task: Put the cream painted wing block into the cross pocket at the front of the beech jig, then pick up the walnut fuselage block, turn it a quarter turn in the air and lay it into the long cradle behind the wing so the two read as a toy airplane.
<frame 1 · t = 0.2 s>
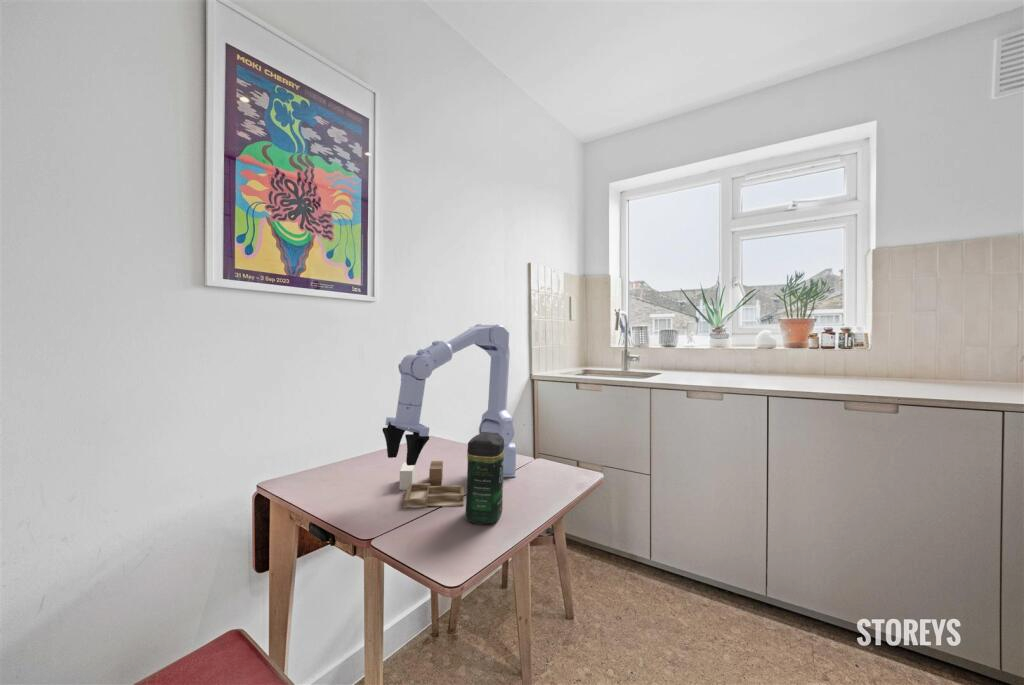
hand: (401, 461, 95), 10 cm above the table, tool pointing down, fingers open, 7 cm apart
jig: (435, 497, 99), on the table
coffee jar: (484, 516, 90), on the table
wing: (407, 484, 107), on the table
fuselage: (436, 481, 110), on the table
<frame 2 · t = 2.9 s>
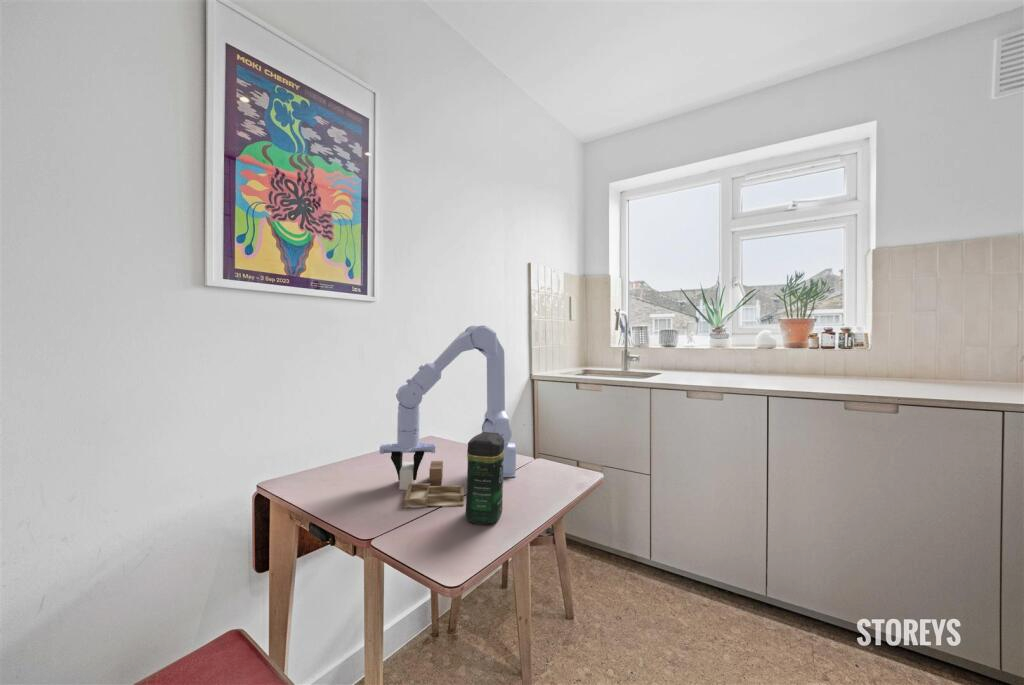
hand: (407, 479, 107), 1 cm above the table, tool pointing down, fingers closed on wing, 3 cm apart
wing: (407, 484, 107), on the table, touching gripper
everything else where it was.
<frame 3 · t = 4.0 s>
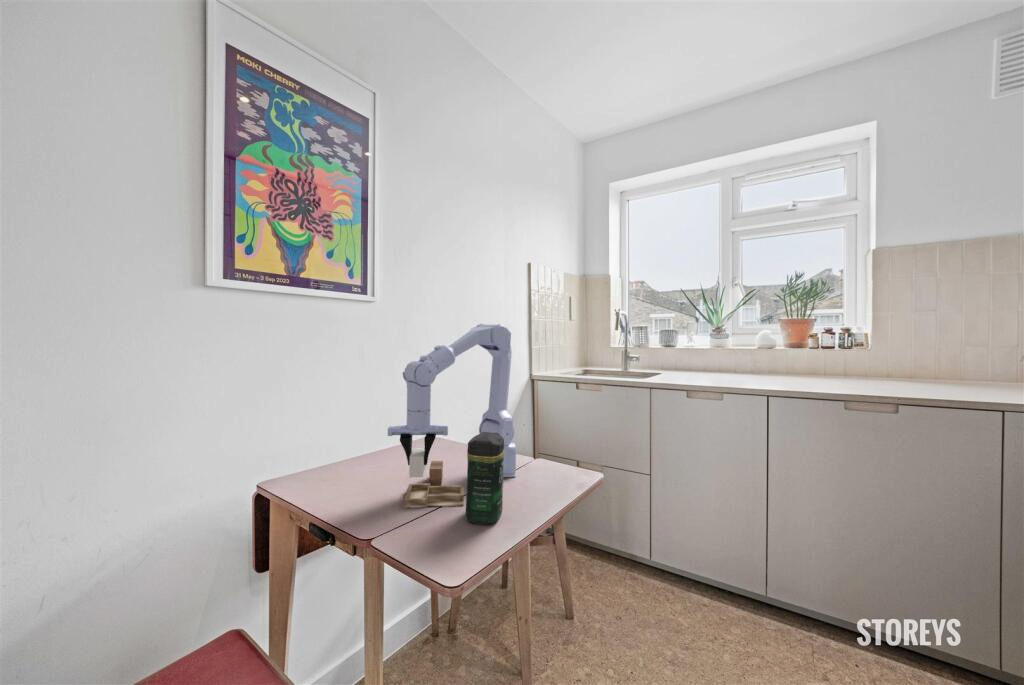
hand: (417, 463, 99), 8 cm above the table, tool pointing down, fingers closed on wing, 3 cm apart
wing: (417, 472, 99), point 6 cm above the table, touching gripper
everything else where it was.
when the fingers open (3 cm above the table, at t = 5.5 s): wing stays where it is, resting on jig.
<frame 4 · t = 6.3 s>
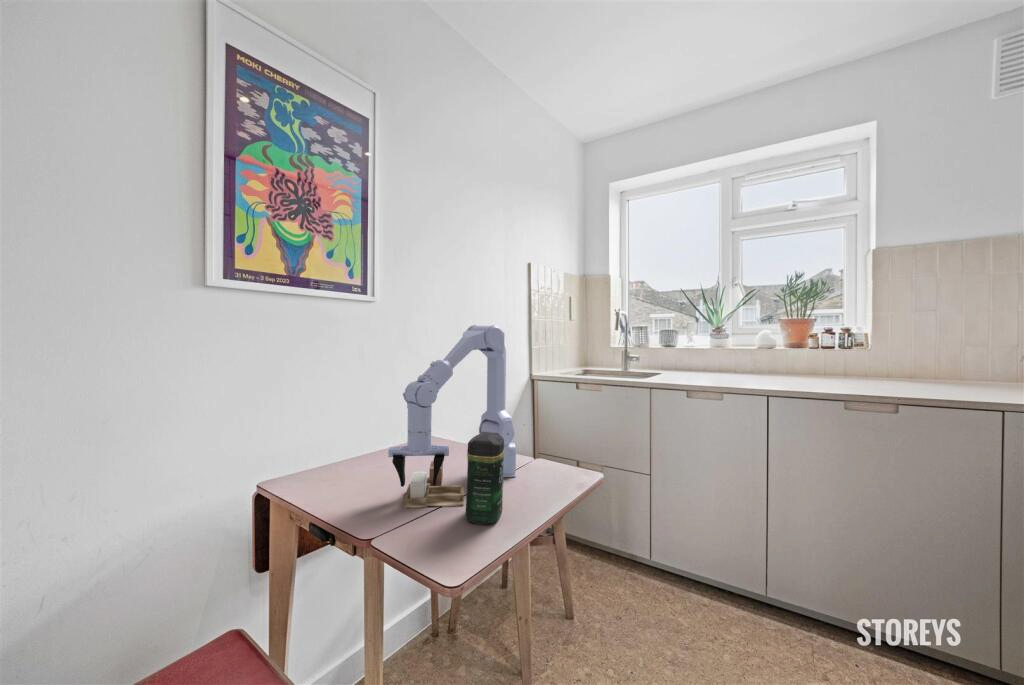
hand: (418, 484, 98), 3 cm above the table, tool pointing down, fingers open, 7 cm apart
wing: (418, 496, 99), resting on jig
everything else where it was.
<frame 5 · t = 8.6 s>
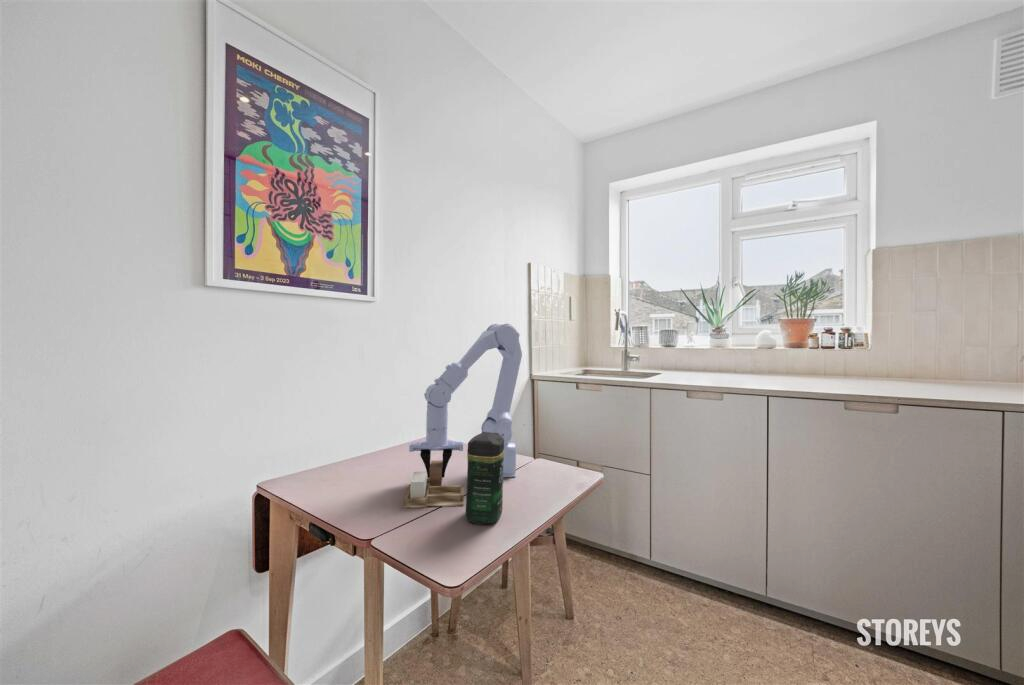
hand: (436, 476, 110), 1 cm above the table, tool pointing down, fingers closed on fuselage, 3 cm apart
fuselage: (436, 481, 110), on the table, touching gripper
everything else where it was.
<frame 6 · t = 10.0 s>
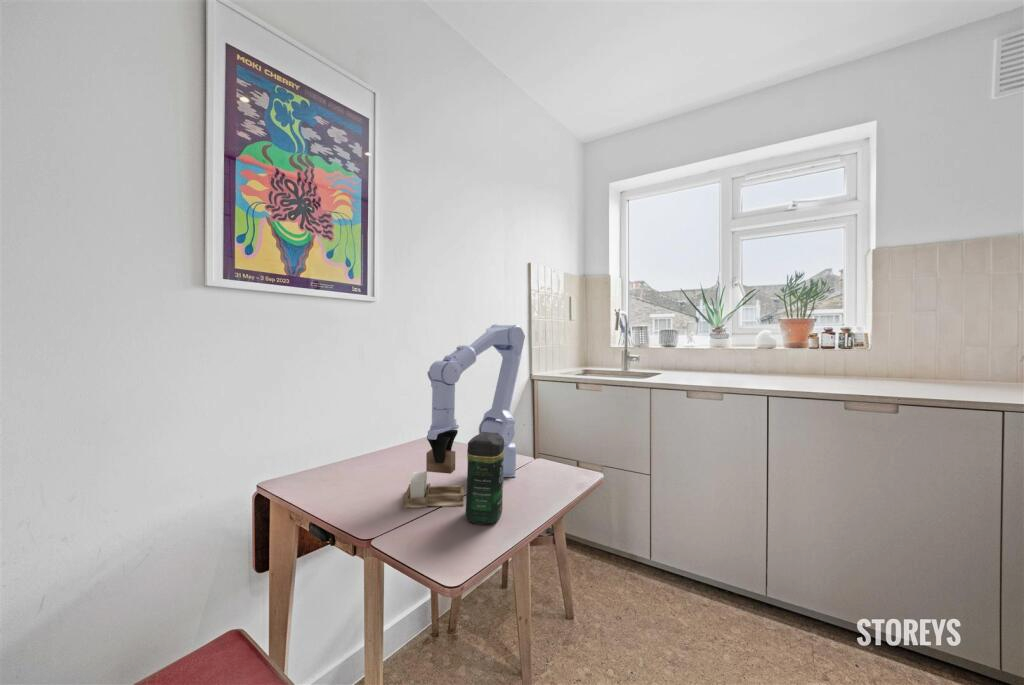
hand: (442, 460, 102), 8 cm above the table, tool pointing down, fingers closed on fuselage, 3 cm apart
fuselage: (440, 470, 102), point 6 cm above the table, touching gripper
everything else where it was.
when the fingers open (3 cm above the table, at t = 11.6 s): fuselage stays where it is, resting on jig.
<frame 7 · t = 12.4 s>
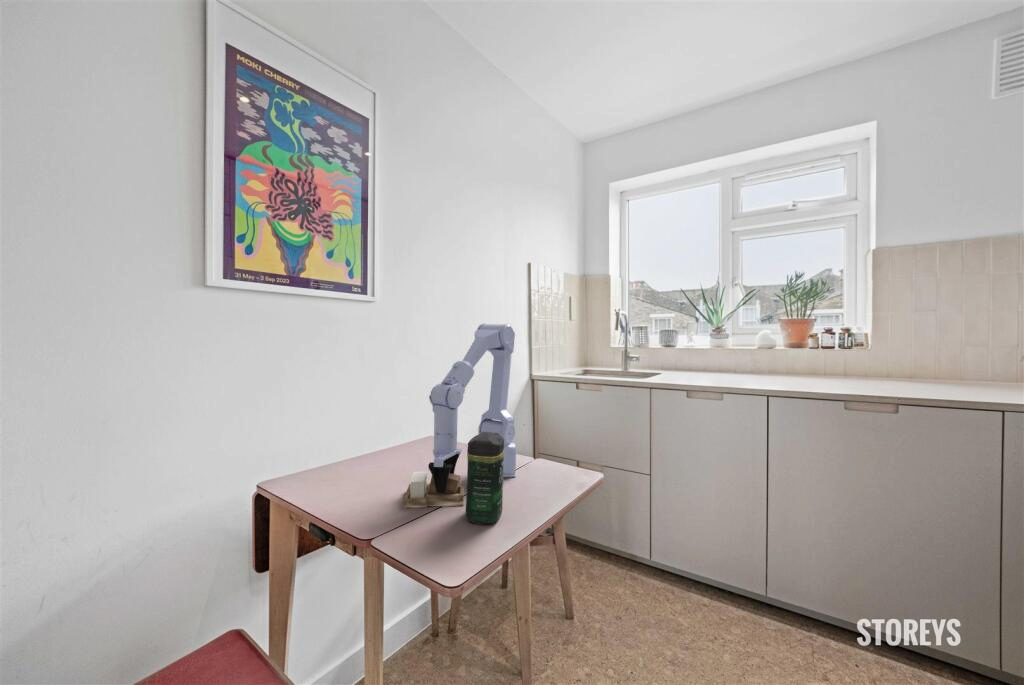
hand: (444, 486, 99), 3 cm above the table, tool pointing down, fingers open, 7 cm apart
fuselage: (442, 493, 99), point 1 cm above the table, tilted 13°, touching jig
everything else where it was.
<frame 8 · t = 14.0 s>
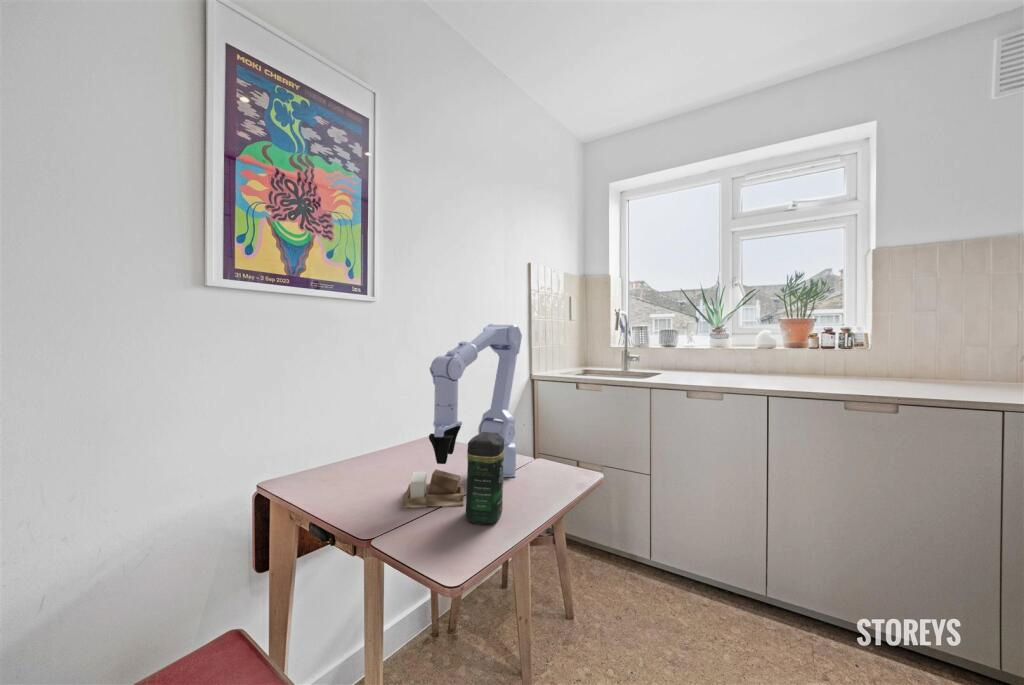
hand: (445, 458, 99), 10 cm above the table, tool pointing down, fingers open, 7 cm apart
nothing on the table moved.
at the end: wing 0.2 cm from the target spot on the jig, point 0.4 cm above the jig's base; fuselage 0.7 cm from the target spot on the jig, point 1.1 cm above the jig's base; fuselage tilted 13° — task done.
